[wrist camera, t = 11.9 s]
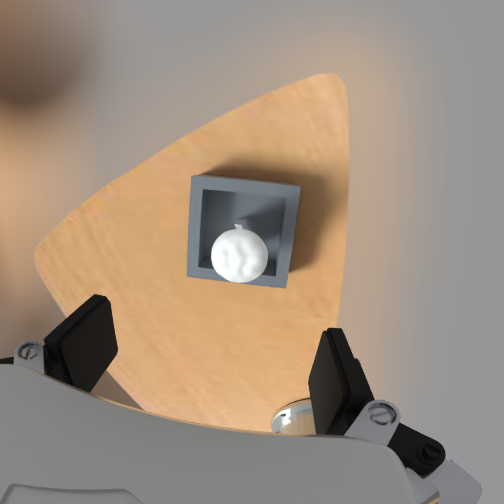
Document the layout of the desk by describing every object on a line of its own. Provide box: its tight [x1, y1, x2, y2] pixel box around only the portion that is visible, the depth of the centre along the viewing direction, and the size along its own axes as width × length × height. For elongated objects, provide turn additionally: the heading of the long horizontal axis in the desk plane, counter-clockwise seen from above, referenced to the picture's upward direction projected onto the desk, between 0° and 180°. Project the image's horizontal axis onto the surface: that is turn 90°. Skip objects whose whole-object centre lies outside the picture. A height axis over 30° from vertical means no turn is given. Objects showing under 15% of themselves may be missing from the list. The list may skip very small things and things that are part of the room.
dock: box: [187, 174, 301, 288], centre depth 28 cm, size 10×10×4 cm
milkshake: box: [211, 217, 268, 283], centre depth 25 cm, size 4×5×10 cm
